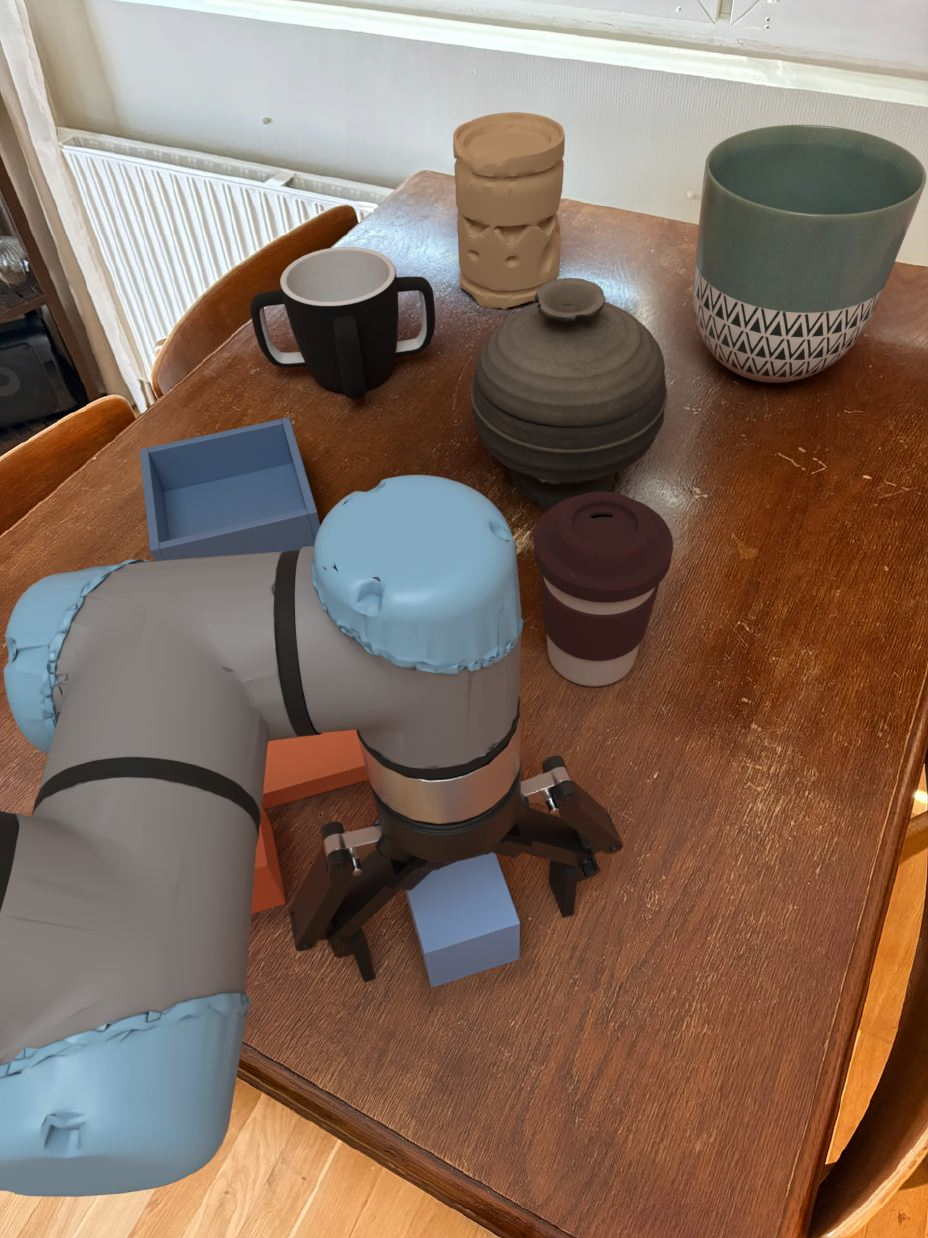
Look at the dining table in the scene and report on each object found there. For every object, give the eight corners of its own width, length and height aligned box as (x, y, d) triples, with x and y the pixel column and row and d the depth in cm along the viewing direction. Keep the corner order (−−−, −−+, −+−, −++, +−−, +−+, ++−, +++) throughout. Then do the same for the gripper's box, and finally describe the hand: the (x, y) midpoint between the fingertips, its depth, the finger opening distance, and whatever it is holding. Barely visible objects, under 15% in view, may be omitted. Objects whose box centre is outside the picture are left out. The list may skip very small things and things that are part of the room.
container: (513, 321, 108) (513, 167, 94) (439, 287, 114) (429, 138, 100) (579, 280, 114) (588, 129, 100) (505, 250, 120) (504, 103, 106)
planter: (860, 429, 92) (933, 223, 76) (665, 406, 96) (695, 206, 80) (857, 326, 104) (920, 130, 88) (685, 309, 108) (714, 118, 92)
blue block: (431, 988, 57) (424, 954, 53) (407, 902, 61) (398, 863, 57) (519, 959, 58) (520, 923, 54) (491, 876, 62) (489, 836, 58)
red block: (198, 930, 60) (172, 893, 56) (189, 852, 64) (164, 811, 60) (285, 903, 61) (267, 865, 57) (272, 828, 65) (254, 786, 61)
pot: (541, 565, 80) (539, 361, 66) (443, 471, 92) (425, 281, 78) (696, 496, 86) (724, 294, 72) (586, 416, 98) (592, 229, 84)
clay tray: (183, 832, 65) (174, 819, 64) (167, 689, 74) (160, 674, 72) (403, 770, 68) (400, 755, 66) (363, 639, 77) (360, 623, 75)
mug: (452, 367, 102) (447, 268, 93) (348, 434, 95) (330, 333, 86) (357, 318, 110) (343, 222, 101) (254, 376, 103) (228, 278, 94)
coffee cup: (620, 722, 70) (640, 592, 59) (509, 671, 74) (508, 541, 62) (670, 636, 75) (698, 503, 64) (565, 593, 79) (574, 460, 68)
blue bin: (169, 594, 81) (149, 550, 77) (156, 493, 90) (139, 449, 86) (327, 556, 83) (317, 511, 79) (299, 461, 93) (289, 416, 88)
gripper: (648, 636, 48) (616, 826, 64) (178, 766, 44) (270, 933, 60) (714, 750, 43) (662, 924, 59) (193, 907, 39) (289, 1047, 55)
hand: (465, 929), depth 60 cm, fingers open, 13 cm apart
